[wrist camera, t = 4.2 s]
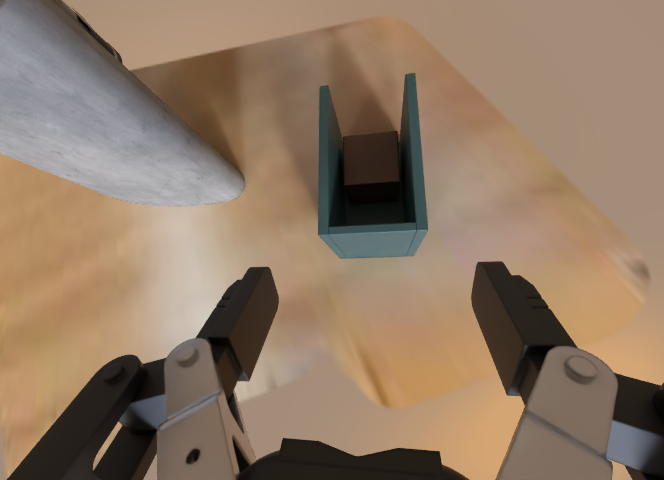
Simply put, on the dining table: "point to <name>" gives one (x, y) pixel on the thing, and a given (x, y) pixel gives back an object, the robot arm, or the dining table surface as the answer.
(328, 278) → the dining table surface
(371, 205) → the teal open box
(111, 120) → the hip flask
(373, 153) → the walnut block
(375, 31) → the dining table surface
